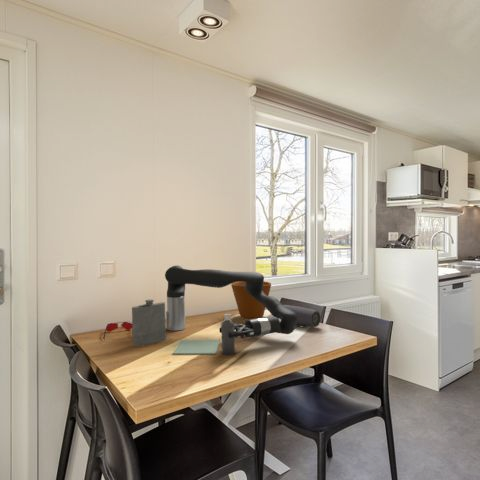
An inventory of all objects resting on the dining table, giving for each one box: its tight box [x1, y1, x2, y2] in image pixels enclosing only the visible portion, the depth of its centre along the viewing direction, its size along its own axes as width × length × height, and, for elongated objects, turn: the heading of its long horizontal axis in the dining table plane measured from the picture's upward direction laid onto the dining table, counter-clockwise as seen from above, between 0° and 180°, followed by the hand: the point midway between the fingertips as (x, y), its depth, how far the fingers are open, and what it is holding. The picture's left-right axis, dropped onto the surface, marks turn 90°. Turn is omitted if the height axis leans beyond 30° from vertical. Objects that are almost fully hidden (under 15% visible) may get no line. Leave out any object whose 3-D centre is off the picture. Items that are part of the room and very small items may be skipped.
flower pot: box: [230, 280, 272, 321], centre depth 206 cm, size 24×24×20 cm
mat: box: [171, 339, 221, 356], centre depth 151 cm, size 18×18×1 cm
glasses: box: [102, 321, 133, 340], centre depth 173 cm, size 14×16×5 cm
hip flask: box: [131, 299, 167, 347], centre depth 158 cm, size 16×4×20 cm, turn 130°
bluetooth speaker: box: [279, 304, 322, 328], centre depth 185 cm, size 23×9×10 cm, turn 42°
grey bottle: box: [220, 313, 236, 356], centre depth 143 cm, size 5×5×16 cm
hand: (224, 332), depth 142 cm, fingers open, 8 cm apart
